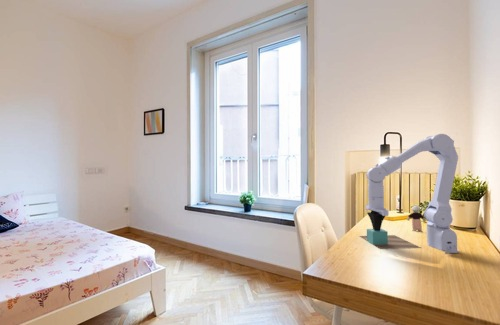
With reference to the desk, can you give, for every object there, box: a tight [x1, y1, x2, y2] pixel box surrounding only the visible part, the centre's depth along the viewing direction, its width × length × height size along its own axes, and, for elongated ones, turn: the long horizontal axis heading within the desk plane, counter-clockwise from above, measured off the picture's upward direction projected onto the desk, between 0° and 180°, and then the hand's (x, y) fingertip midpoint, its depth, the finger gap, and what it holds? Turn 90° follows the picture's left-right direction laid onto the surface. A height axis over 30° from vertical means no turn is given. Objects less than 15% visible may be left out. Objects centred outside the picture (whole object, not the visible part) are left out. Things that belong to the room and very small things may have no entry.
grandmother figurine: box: [406, 205, 427, 233], centre depth 127 cm, size 8×4×13 cm, turn 84°
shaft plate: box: [359, 234, 422, 250], centre depth 108 cm, size 18×16×4 cm
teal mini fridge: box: [366, 228, 389, 246], centre depth 107 cm, size 5×6×5 cm
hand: (376, 230), depth 107 cm, fingers closed, pressing on teal mini fridge
